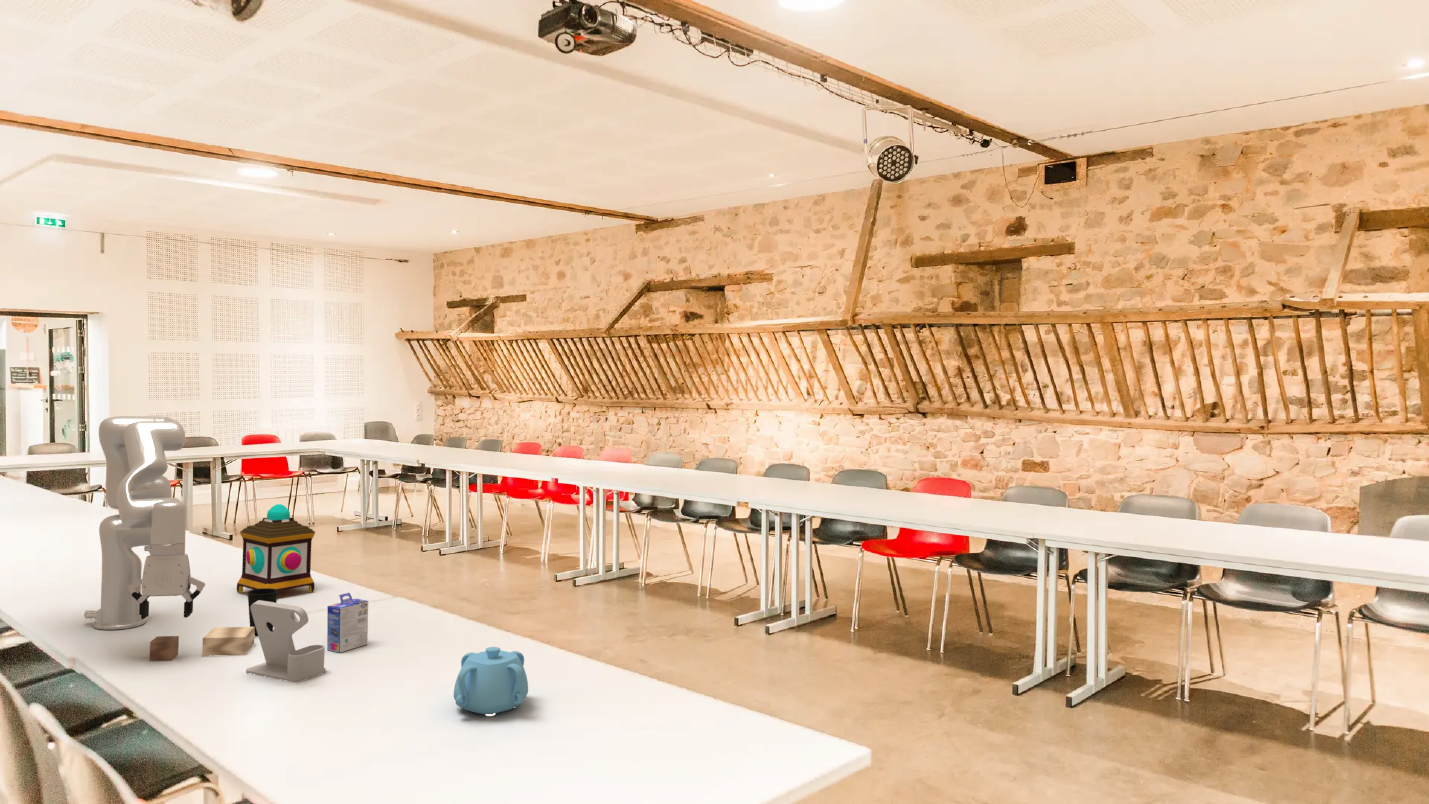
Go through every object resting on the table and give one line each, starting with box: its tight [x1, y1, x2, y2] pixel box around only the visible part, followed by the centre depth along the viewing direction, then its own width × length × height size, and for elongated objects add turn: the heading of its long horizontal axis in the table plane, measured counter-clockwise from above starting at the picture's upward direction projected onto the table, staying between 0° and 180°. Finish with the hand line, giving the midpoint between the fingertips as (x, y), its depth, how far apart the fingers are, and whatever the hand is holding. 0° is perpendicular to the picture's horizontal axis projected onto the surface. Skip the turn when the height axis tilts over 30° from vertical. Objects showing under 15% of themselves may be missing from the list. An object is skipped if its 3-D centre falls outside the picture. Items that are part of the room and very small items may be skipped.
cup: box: [247, 588, 279, 637], centre depth 252 cm, size 8×8×12 cm
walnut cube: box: [148, 635, 180, 662], centre depth 228 cm, size 5×5×5 cm
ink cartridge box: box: [326, 592, 369, 653], centre depth 243 cm, size 10×6×14 cm, turn 155°
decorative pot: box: [453, 646, 529, 715], centre depth 203 cm, size 16×16×14 cm
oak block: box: [201, 626, 255, 657], centre depth 236 cm, size 10×10×5 cm
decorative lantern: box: [236, 503, 316, 594], centre depth 299 cm, size 20×20×30 cm
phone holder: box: [245, 600, 327, 683], centre depth 221 cm, size 17×10×18 cm, turn 70°
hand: (166, 617), depth 227 cm, fingers open, 9 cm apart
